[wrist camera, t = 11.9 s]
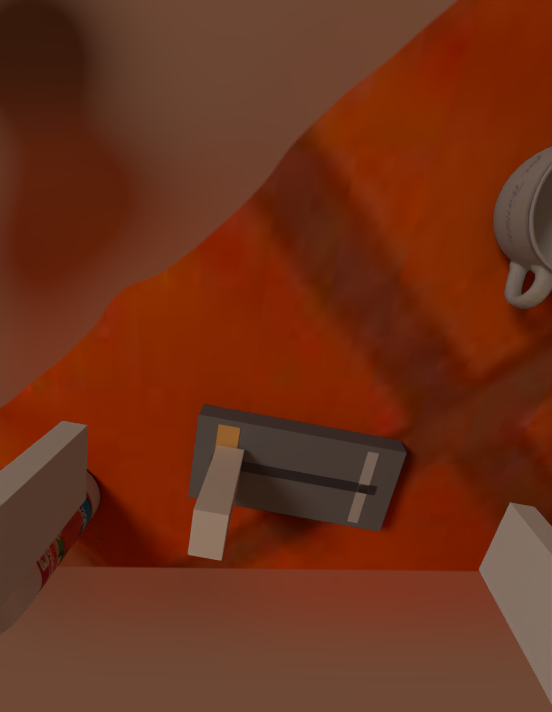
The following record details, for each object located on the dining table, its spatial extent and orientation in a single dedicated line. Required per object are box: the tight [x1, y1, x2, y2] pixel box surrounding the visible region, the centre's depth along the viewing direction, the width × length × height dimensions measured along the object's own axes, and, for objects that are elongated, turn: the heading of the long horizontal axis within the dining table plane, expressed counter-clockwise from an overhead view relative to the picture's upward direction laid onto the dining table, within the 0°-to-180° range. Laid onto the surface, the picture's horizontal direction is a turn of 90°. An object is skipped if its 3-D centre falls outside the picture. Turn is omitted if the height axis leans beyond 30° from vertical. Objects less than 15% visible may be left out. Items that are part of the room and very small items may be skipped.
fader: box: [188, 445, 244, 560], centre depth 37 cm, size 3×5×10 cm, turn 170°
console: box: [188, 404, 407, 532], centre depth 43 cm, size 23×11×3 cm, turn 80°
